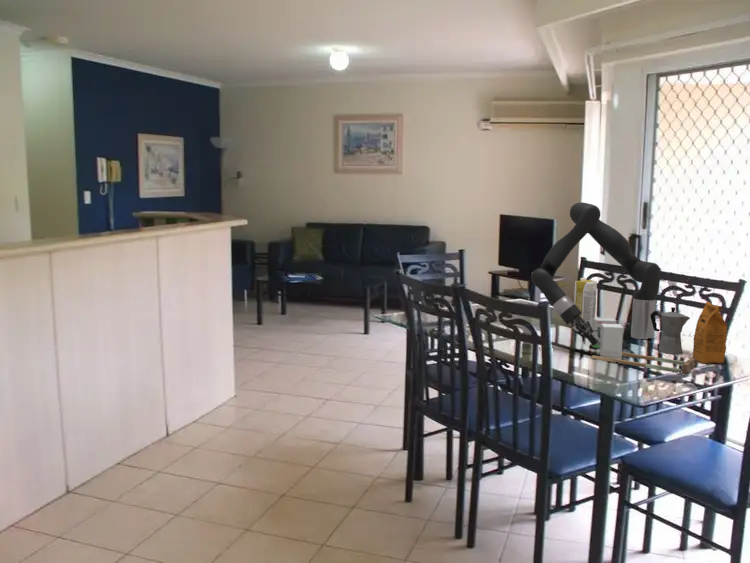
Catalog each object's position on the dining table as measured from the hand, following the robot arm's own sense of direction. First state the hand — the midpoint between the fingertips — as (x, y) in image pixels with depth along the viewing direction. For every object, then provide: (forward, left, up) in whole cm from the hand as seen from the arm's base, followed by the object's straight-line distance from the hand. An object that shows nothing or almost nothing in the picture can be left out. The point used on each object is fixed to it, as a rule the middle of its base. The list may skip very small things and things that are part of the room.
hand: (595, 343), depth 265 cm
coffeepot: (-24, +21, -5) cm, 32 cm away
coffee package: (-18, +37, -5) cm, 41 cm away
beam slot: (0, +18, -4) cm, 18 cm away
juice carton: (-42, -20, -5) cm, 47 cm away
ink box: (-15, -2, -5) cm, 16 cm away
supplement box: (0, +6, -5) cm, 7 cm away
